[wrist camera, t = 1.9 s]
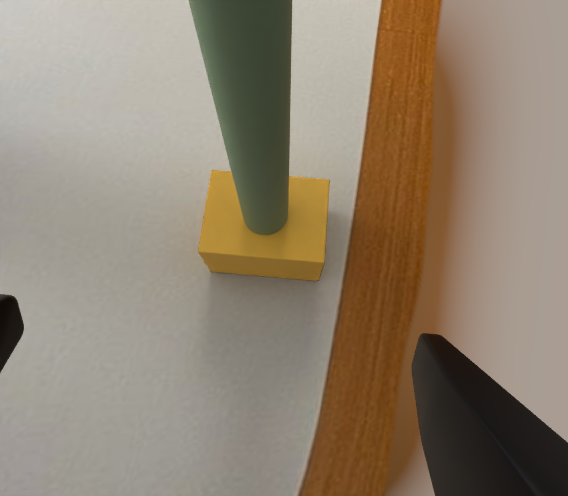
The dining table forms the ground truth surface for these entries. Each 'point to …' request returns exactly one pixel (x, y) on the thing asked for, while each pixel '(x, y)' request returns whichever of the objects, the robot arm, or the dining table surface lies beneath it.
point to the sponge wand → (257, 147)
